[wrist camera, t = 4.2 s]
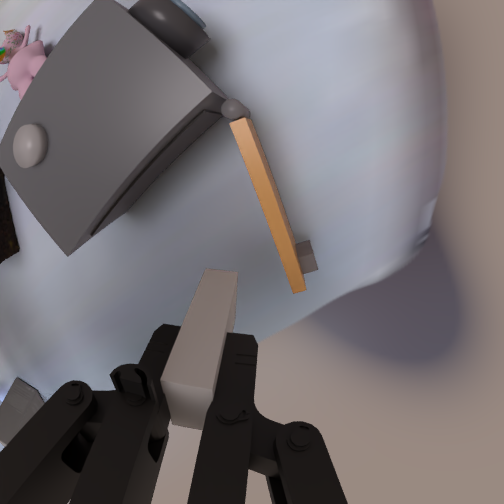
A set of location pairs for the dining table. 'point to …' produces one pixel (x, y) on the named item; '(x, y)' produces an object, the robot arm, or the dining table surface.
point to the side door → (269, 197)
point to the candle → (6, 225)
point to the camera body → (108, 115)
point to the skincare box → (17, 409)
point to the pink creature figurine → (21, 59)
